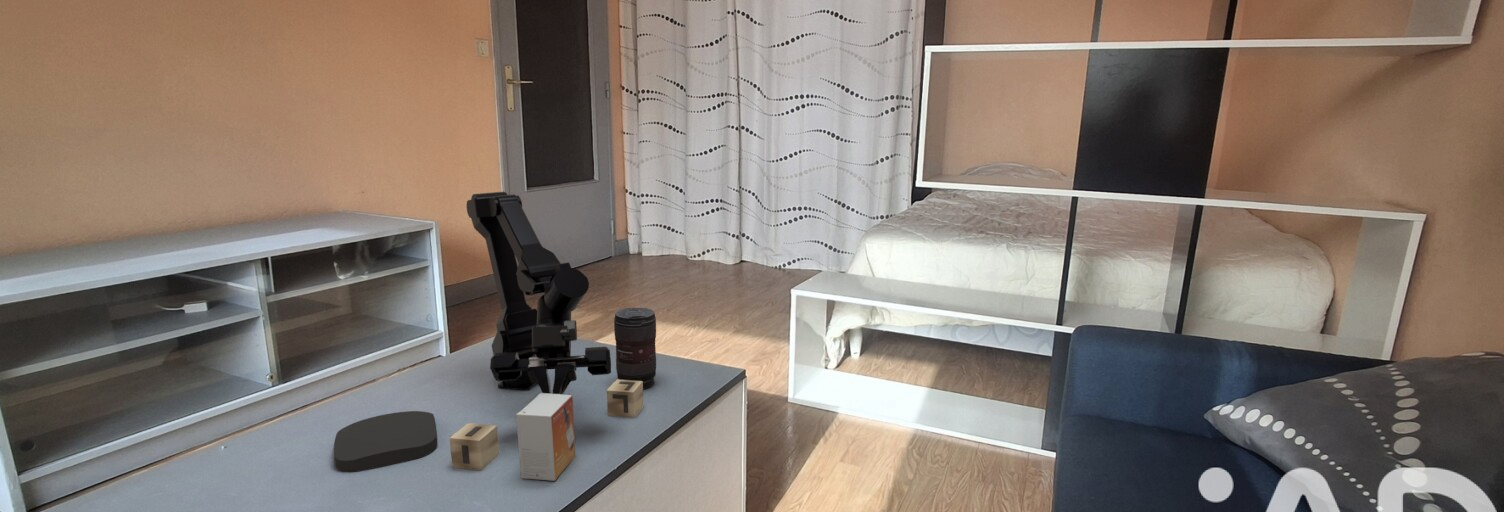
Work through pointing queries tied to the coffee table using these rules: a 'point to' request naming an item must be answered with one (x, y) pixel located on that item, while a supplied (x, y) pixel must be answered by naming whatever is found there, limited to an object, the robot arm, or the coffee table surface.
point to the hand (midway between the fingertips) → (551, 413)
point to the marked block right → (625, 398)
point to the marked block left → (474, 446)
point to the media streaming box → (385, 440)
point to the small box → (546, 436)
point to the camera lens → (635, 345)
